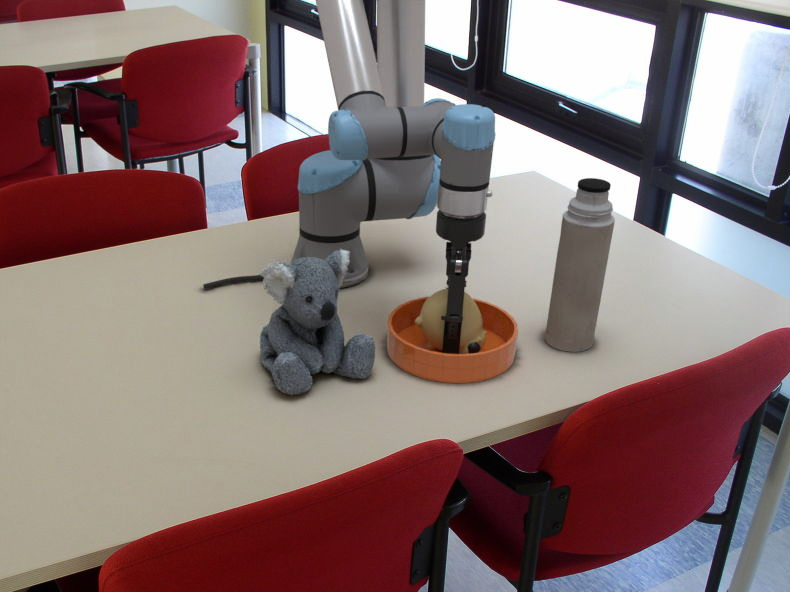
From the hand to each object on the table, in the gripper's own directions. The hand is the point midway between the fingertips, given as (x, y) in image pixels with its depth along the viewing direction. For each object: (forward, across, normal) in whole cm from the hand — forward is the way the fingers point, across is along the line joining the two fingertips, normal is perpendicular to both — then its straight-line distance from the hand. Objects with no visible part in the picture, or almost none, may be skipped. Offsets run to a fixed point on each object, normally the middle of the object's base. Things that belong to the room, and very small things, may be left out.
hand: (450, 337), depth 151 cm
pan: (+2, 0, 0) cm, 2 cm away
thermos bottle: (+2, +6, -20) cm, 21 cm away
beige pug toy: (+2, 0, 0) cm, 2 cm away
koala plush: (+2, -8, +23) cm, 25 cm away
